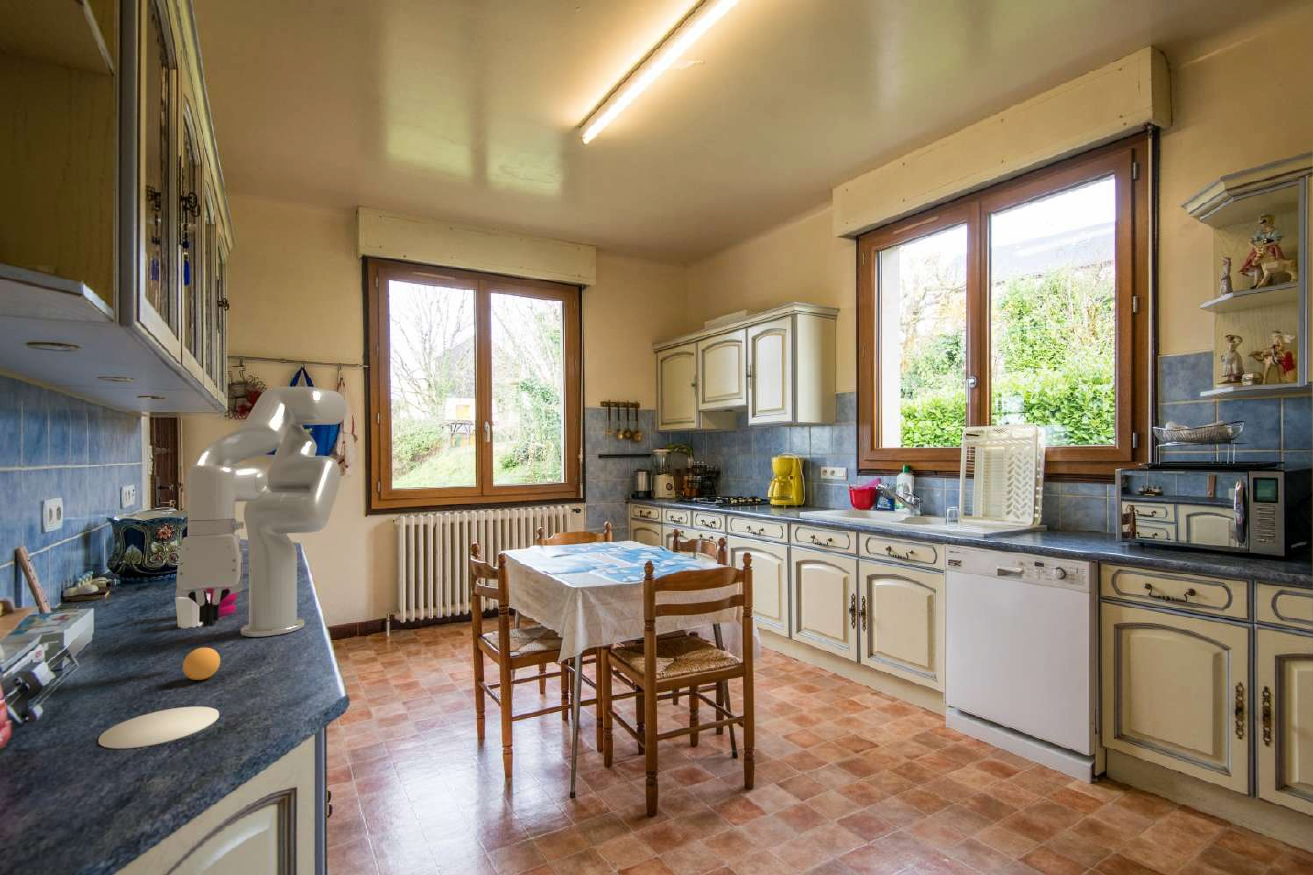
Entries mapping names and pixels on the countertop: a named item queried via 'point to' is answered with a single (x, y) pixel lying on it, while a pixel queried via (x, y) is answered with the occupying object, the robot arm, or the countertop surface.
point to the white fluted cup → (188, 612)
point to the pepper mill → (225, 602)
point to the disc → (158, 727)
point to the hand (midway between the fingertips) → (209, 625)
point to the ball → (201, 663)
